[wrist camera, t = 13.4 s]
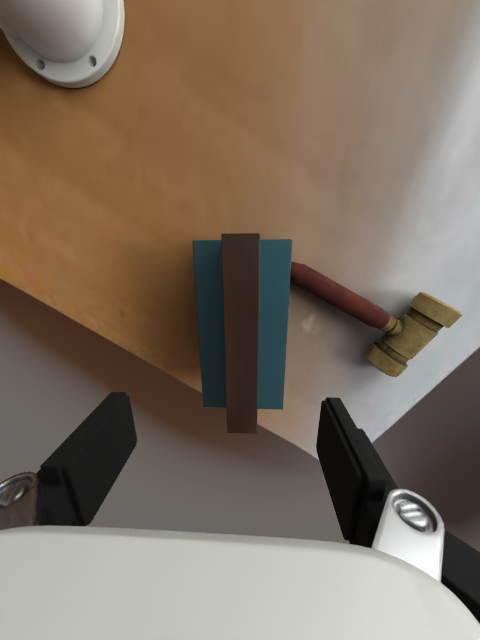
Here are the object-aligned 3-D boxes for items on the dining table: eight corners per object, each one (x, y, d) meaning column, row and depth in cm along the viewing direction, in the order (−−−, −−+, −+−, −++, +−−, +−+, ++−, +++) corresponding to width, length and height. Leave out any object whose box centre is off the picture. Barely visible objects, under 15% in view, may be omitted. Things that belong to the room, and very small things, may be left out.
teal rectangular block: (214, 371, 34) (203, 407, 26) (209, 242, 28) (192, 240, 21) (276, 372, 33) (282, 409, 26) (282, 241, 28) (292, 239, 20)
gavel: (253, 300, 28) (299, 220, 24) (258, 290, 32) (297, 221, 28) (402, 384, 28) (473, 319, 24) (387, 363, 32) (445, 306, 28)
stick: (230, 412, 26) (227, 432, 23) (225, 235, 21) (221, 233, 18) (256, 413, 26) (256, 434, 23) (259, 235, 20) (260, 233, 18)
